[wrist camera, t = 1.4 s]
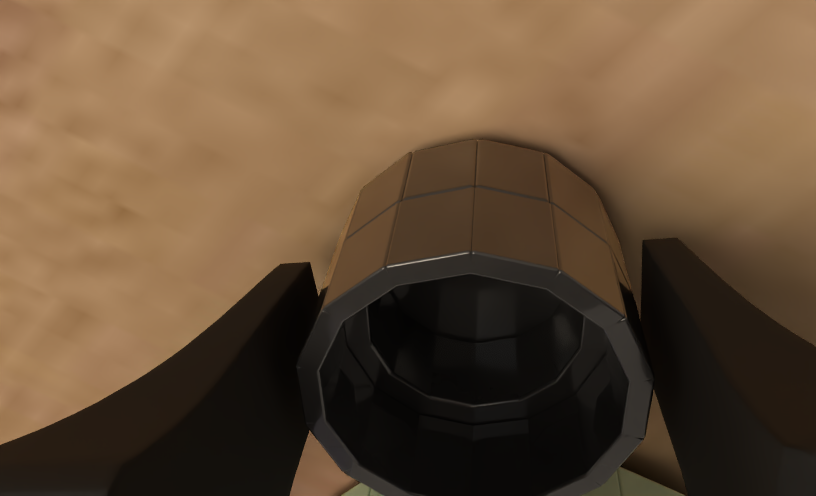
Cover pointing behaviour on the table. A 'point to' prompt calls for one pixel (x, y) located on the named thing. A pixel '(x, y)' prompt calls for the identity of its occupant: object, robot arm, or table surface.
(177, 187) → the table surface
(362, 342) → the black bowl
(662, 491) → the sage bowl
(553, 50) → the table surface
